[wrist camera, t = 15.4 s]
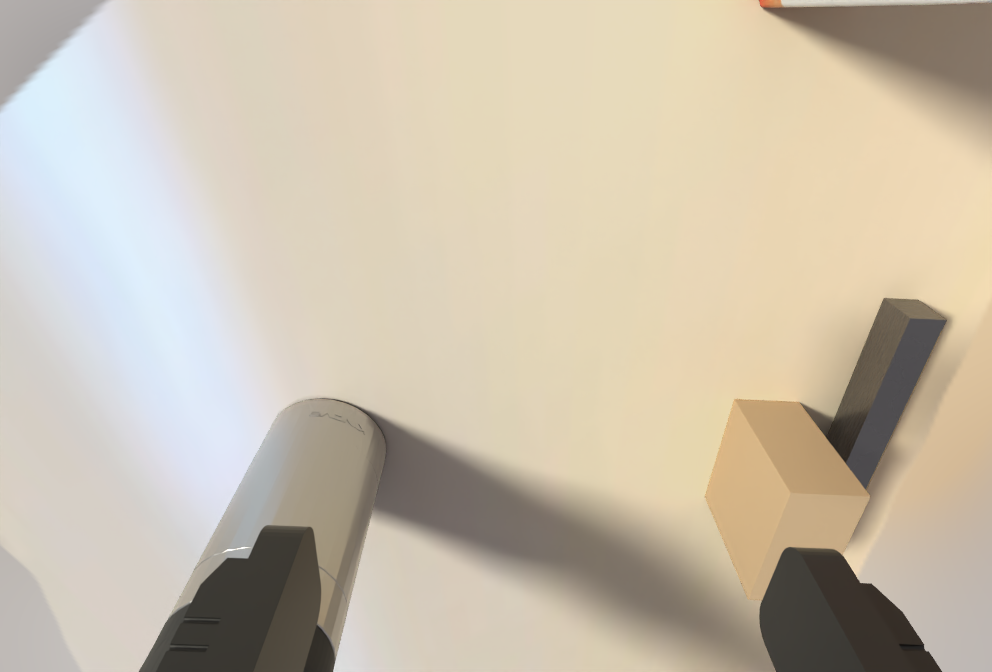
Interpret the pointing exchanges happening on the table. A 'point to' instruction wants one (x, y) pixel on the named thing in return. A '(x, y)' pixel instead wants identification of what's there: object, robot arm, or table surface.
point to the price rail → (883, 383)
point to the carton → (779, 489)
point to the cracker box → (860, 2)
